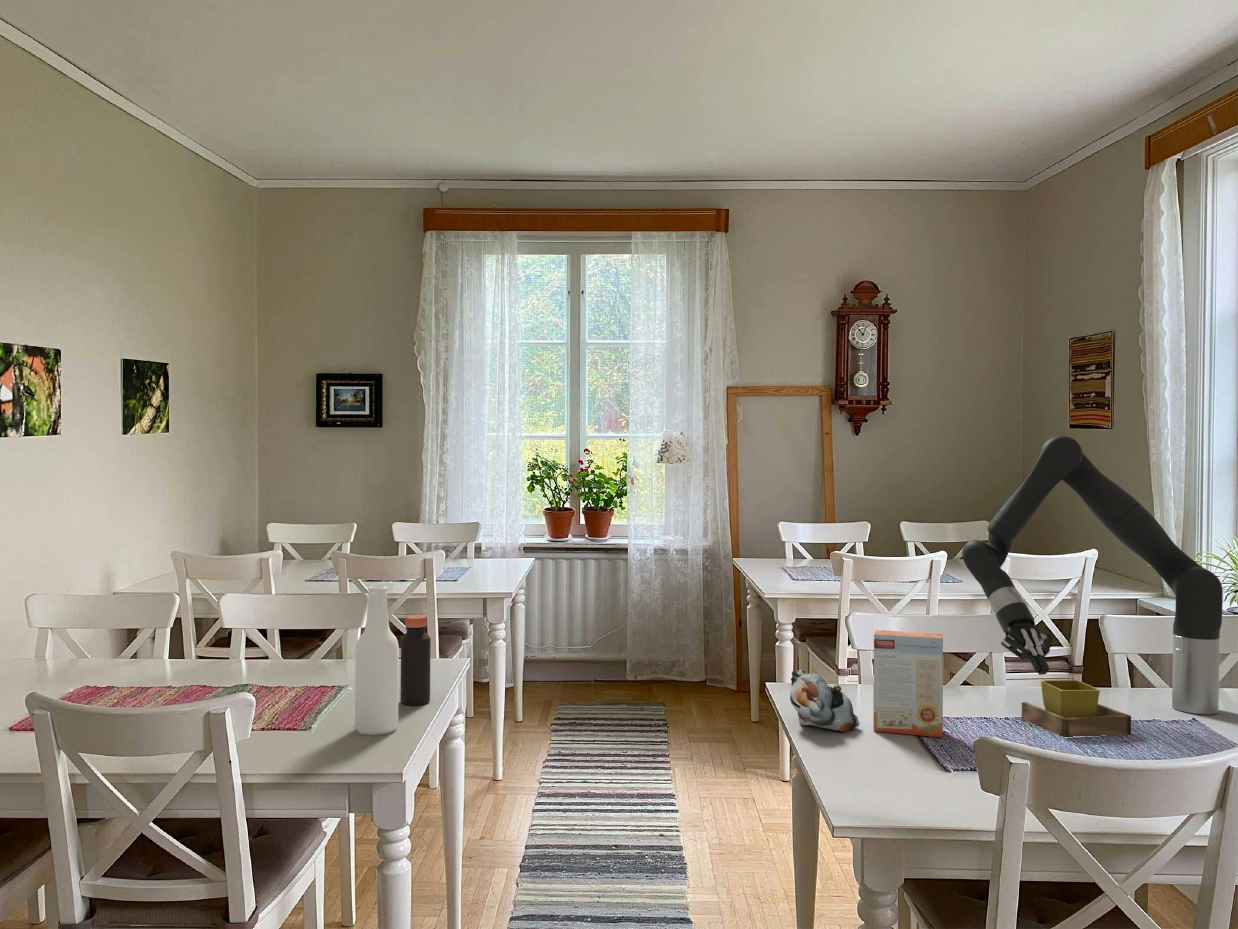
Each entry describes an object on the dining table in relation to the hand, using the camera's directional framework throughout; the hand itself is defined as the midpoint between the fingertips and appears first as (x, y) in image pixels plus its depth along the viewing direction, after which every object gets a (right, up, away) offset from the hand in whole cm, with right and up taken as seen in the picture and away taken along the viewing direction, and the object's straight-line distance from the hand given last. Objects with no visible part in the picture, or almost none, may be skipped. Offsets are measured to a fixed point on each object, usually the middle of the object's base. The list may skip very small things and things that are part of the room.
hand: (1044, 672), depth 210 cm
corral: (+2, -10, -9) cm, 13 cm away
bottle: (-144, -8, +6) cm, 145 cm away
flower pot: (+1, -10, -9) cm, 13 cm away
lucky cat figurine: (-53, -9, -11) cm, 55 cm away
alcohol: (-148, -8, -17) cm, 149 cm away
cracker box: (-35, -9, -14) cm, 39 cm away
